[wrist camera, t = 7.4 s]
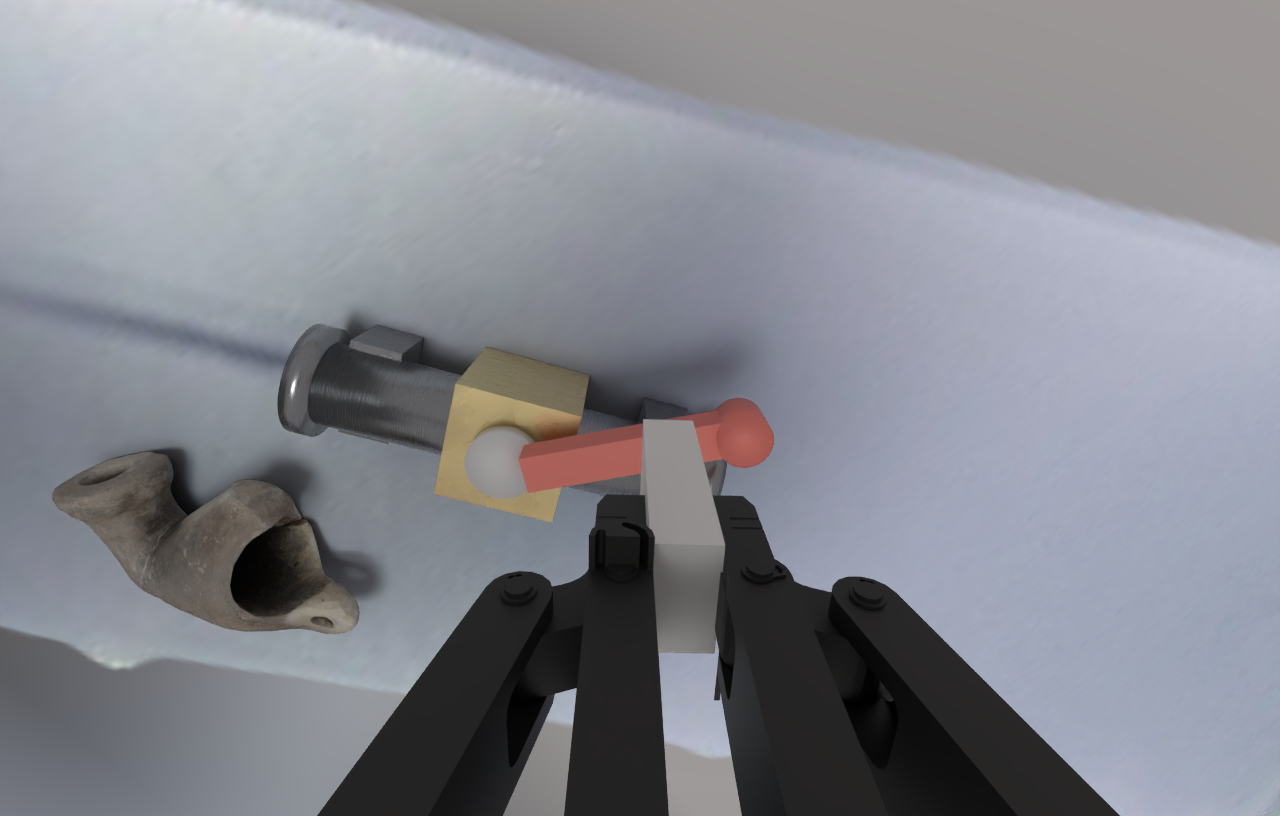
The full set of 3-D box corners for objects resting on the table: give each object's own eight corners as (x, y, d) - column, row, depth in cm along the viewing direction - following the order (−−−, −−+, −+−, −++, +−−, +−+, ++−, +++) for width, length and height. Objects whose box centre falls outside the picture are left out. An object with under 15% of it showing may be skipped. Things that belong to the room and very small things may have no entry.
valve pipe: (332, 406, 41) (270, 454, 34) (344, 308, 38) (281, 337, 31) (686, 496, 44) (697, 557, 37) (718, 410, 41) (736, 458, 34)
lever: (480, 495, 34) (465, 526, 31) (459, 432, 33) (442, 458, 30) (764, 445, 34) (778, 472, 31) (756, 379, 32) (769, 400, 29)
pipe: (299, 515, 53) (411, 546, 45) (238, 617, 49) (349, 670, 41) (96, 421, 41) (202, 441, 33) (-5, 547, 37) (86, 603, 29)
